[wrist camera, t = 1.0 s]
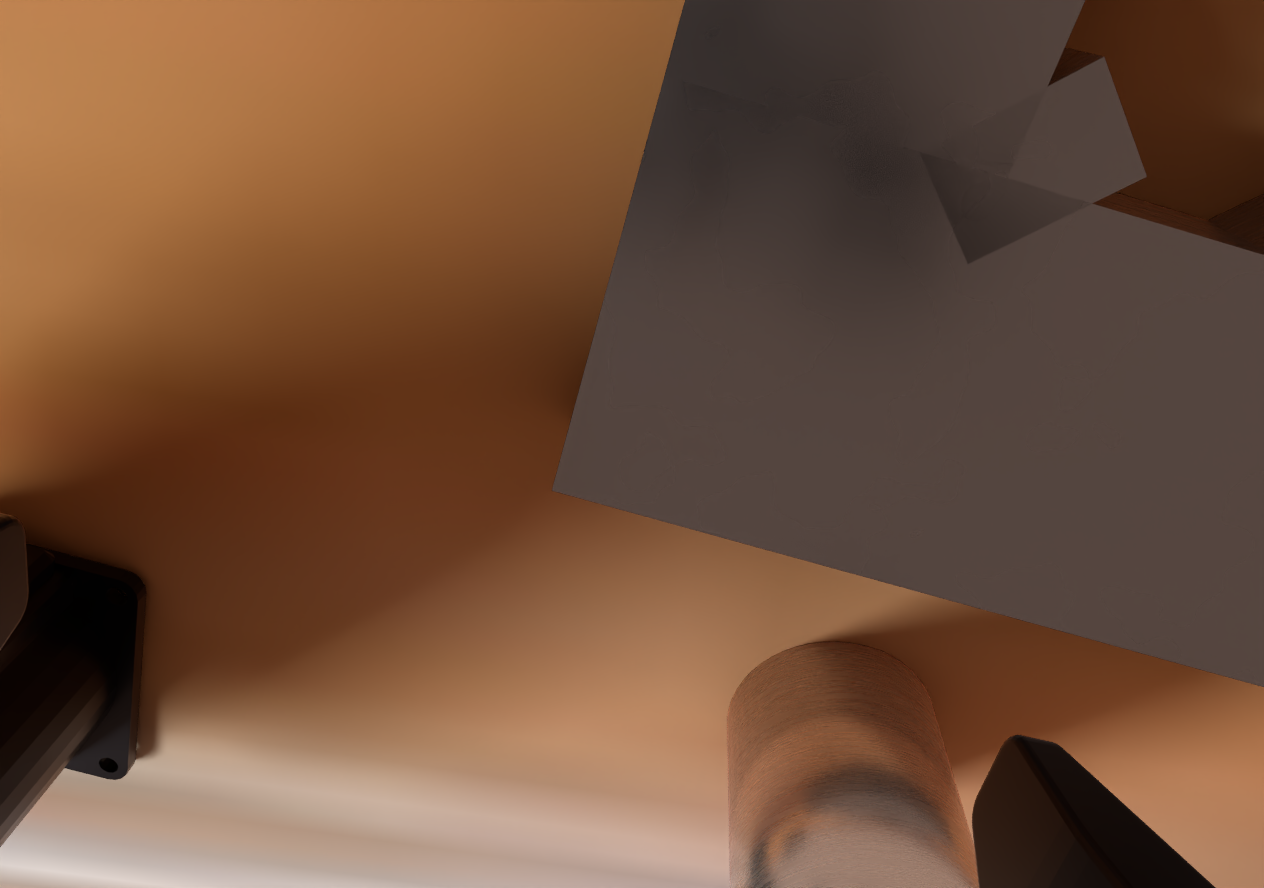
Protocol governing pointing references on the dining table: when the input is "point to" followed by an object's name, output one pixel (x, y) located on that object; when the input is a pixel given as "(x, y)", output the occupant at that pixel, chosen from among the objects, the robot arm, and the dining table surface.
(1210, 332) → the duct plate
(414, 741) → the dining table surface
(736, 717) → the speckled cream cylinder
